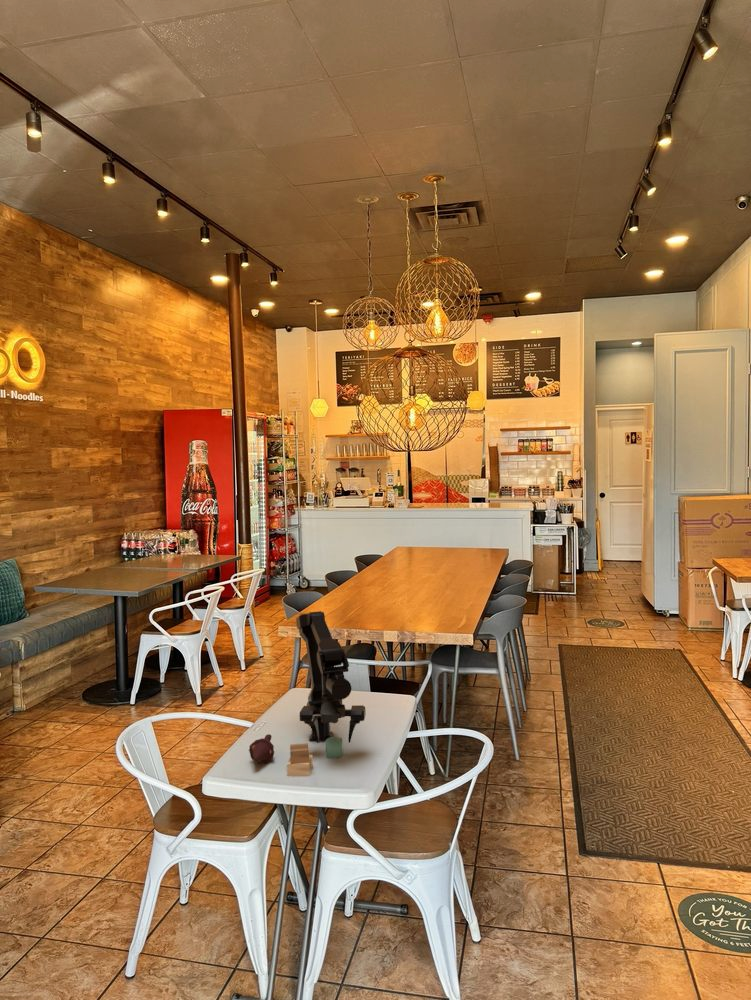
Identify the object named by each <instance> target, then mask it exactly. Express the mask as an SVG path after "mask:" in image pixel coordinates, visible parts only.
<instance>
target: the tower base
mask: <svg viewBox="0 0 751 1000" xmlns="http://www.w3.org/2000/svg"><path fill="white" fill-rule="evenodd" d="M313 762H314V759H313V754H309V763H299V764H291V758H289V759H288V761H287V763H286V772H287V773H286V774H287V776H288V777H310V774H311V772H312V770H313V767H314V763H313Z"/></svg>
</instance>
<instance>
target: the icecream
mask: <svg viewBox="0 0 751 1000" xmlns="http://www.w3.org/2000/svg"><path fill="white" fill-rule="evenodd" d="M271 740H272V735H271V734H267V735H265V736H264V738H263V737H262V738H260V739H255V741H253V742H252V743H251V744H250V745H249V749H248V751H249V754H250V755H249V756H250V758H251V760H252V761H254V762H256V764H268V763H269V762H270V761H271V760H272V759H273V758H274V755H275V750H274V747H275V746H274V744H273V743H272V742H271Z"/></svg>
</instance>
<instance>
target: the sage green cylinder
mask: <svg viewBox="0 0 751 1000" xmlns="http://www.w3.org/2000/svg"><path fill="white" fill-rule="evenodd" d="M343 754H344V752H343V739H342V738H341V737H340V736H339V737H338V736H331V738H328V739H326V741H325V757H326V758H327V759H331V758H332V759H333V760H334V759H335V760H336V759H340V758H341V757H343V756H342V755H343Z"/></svg>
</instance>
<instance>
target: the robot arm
mask: <svg viewBox="0 0 751 1000" xmlns="http://www.w3.org/2000/svg"><path fill="white" fill-rule="evenodd" d="M295 623H296V628H297V630H298V633H299V636H300V637H301V639H302V640H303V641H304V642H305V647H306V654H307V655H306V656H307V662H308V670H309V677H310V684H311V689H310V692H309V693H308V696H307V703H306V705H304V706H302V708H301V709H300V711H299V721H300V722H304V724H305V725H308V726H309V727H310V729H311V734H310V735H309V739H308V741H313V742H314V741H315V742H316V743H318V744H319V743H320V741H322V742H324V741H325V742H326V739H328V738H331V737H333V732H334V731H331V723H332V724H337V723H339V719H342V718H345V717H350V718H349V725H348V726H349V728H348V737H347V738H348V744H349V743H351V742H352V741H351V740H352V737H353V733H354V730H355V728H356V726H357V724H361V722H363V721H365V718H366V714H367V713H366V711H367V710H366V707H365V706H364V705H362V704H361V705H351V707H350V708H351V709H349V708H347V709H346V705H345V704H343V700H345V699H346V698H348V697H349V696H350V694H351V692H352V685H351V683H350V681H349V680H348V679H347V678H346V677H345V674H344V673H346V672H349V667H350V664H349V660H348V656H347V653H346V652H345V649H344V648H343V647H342V645H341V644H340V642H339V641H338V640H336V639H334V638H333V636H332V633H331V632H330V628H329V627H328V624H327V621H326V615H325V612H324V611H321V610H319V611H309V612H308V613H300V614H299V616H298V617H297V618H296V619H295Z"/></svg>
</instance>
